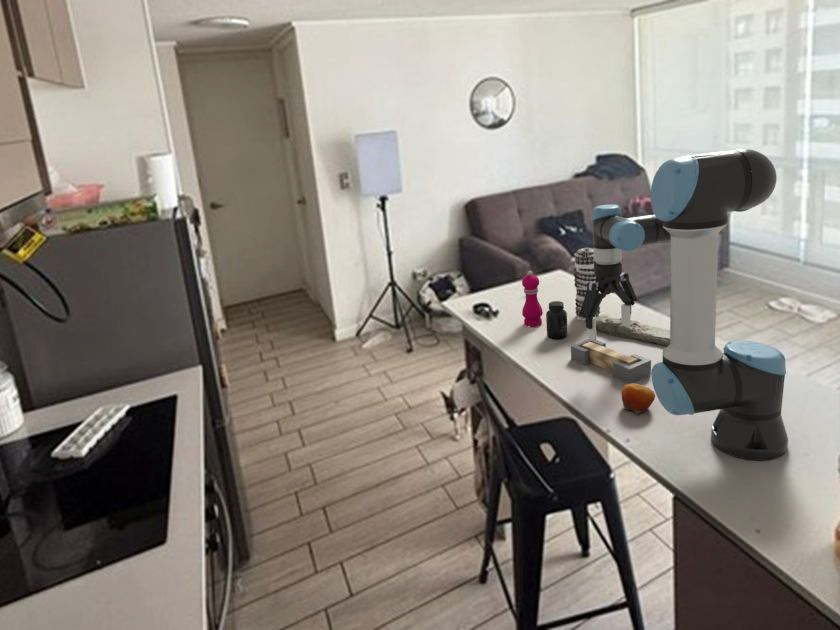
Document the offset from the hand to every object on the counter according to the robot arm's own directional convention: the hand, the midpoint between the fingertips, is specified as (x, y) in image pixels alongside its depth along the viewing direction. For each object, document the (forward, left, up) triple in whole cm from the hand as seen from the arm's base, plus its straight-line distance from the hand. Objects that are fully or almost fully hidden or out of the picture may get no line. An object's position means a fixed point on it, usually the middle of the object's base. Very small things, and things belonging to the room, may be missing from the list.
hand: (609, 332), depth 175 cm
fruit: (-22, +13, -11) cm, 28 cm away
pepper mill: (+43, -7, -11) cm, 45 cm away
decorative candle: (+34, -25, -11) cm, 44 cm away
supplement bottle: (+28, -5, -11) cm, 31 cm away
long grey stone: (+10, -24, -12) cm, 28 cm away
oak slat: (+1, 0, -11) cm, 11 cm away
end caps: (0, 0, -11) cm, 11 cm away
